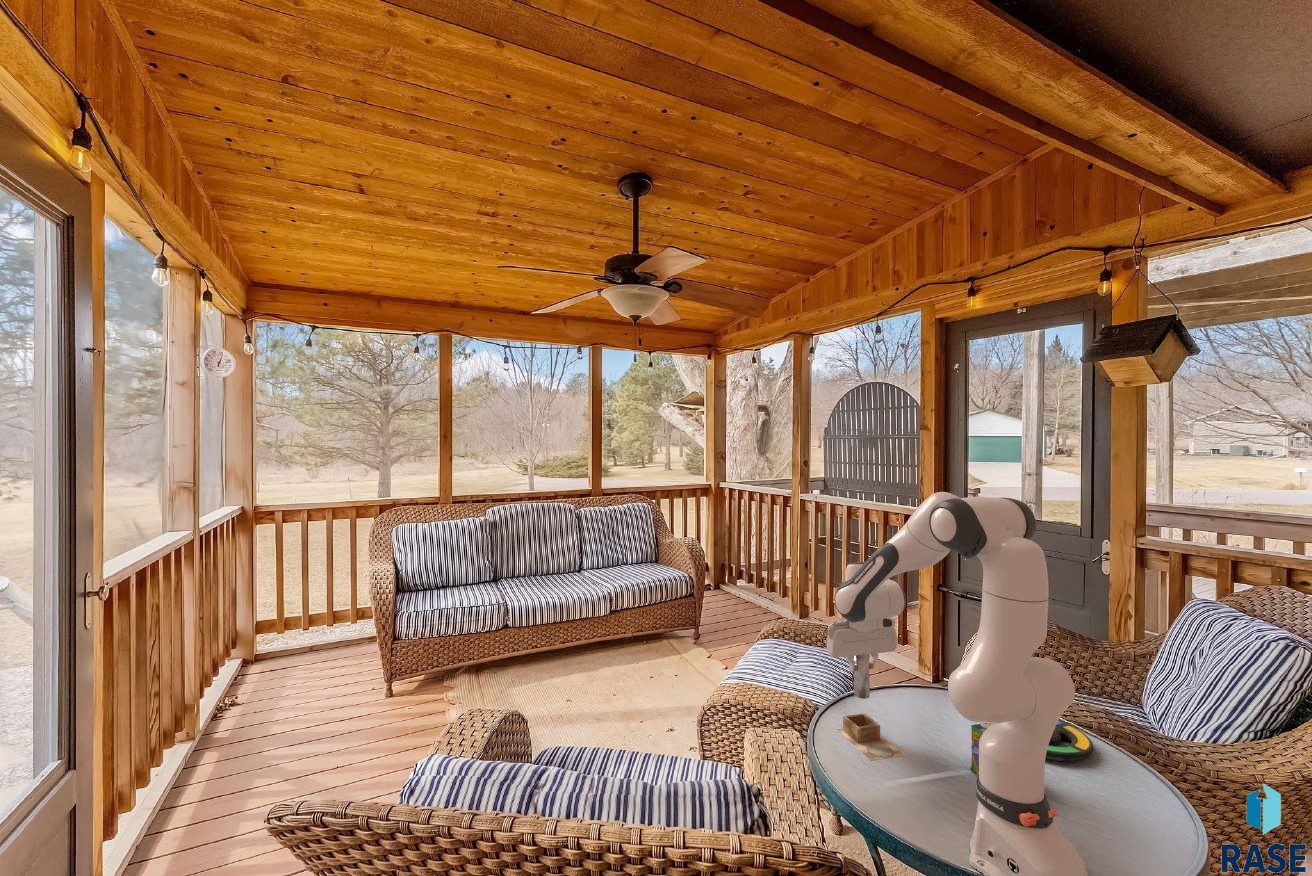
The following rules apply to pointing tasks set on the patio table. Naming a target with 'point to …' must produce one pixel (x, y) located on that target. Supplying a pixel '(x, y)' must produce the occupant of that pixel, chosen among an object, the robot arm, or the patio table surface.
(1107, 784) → the patio table surface
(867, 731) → the pocket board
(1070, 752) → the electronic game
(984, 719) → the robot arm
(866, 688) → the peg
